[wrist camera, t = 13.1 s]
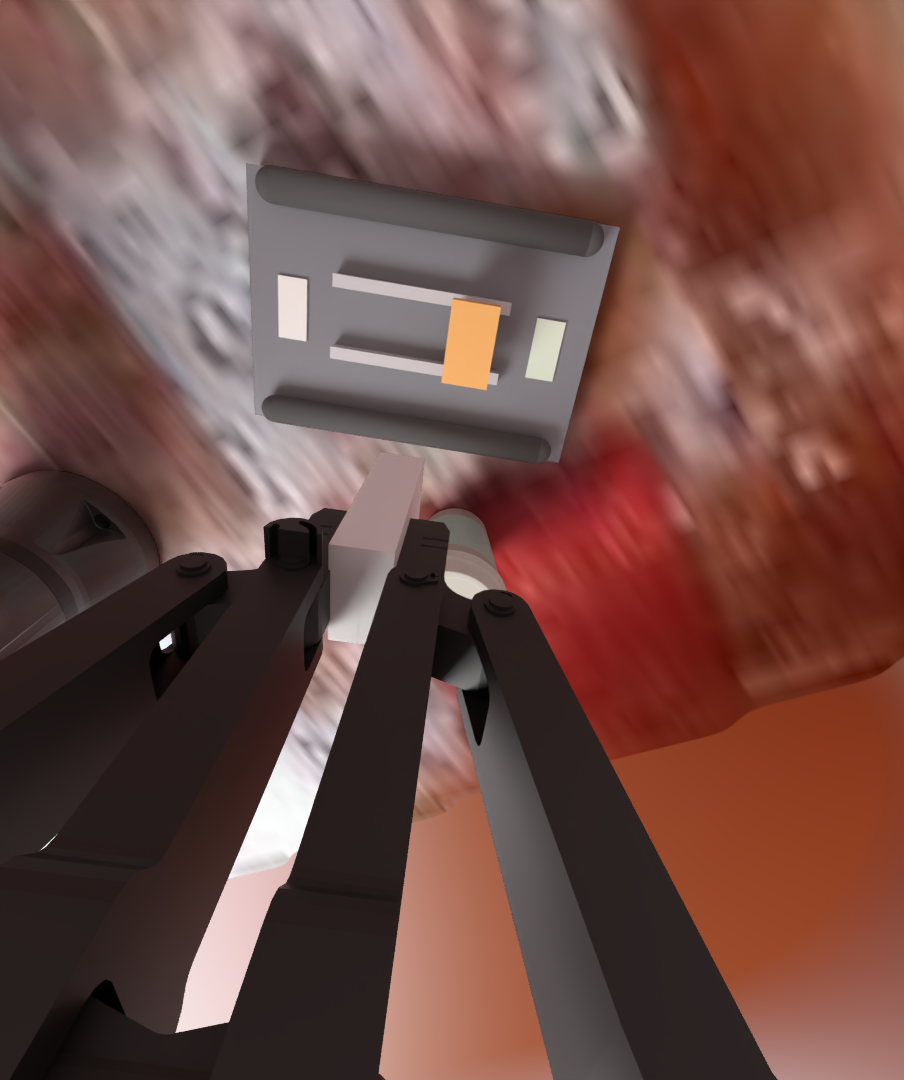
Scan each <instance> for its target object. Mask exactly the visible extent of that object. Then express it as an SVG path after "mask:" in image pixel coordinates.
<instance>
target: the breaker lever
mask: <svg viewBox="0 0 904 1080" xmlns="http://www.w3.org/2000/svg"><path fill="white" fill-rule="evenodd" d="M500 311H501V306H500V305H496V304H490V303H484V302H478V301H472V300H466V299H460V298H453V299H452V307H451V314H450V321H449V329H448V336H447V344H446V351H445V359H444V366H443V373H442V381H441V383H445V384H452V385H458V386H464V387H470V388H476V389H482V390H487V384H488V379H489V373H490V367H491V362H492V356H493V350H494V345H495V339H496V333H497V328H498V322H499V317H500Z"/></svg>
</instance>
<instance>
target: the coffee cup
mask: <svg viewBox="0 0 904 1080" xmlns="http://www.w3.org/2000/svg"><path fill="white" fill-rule="evenodd" d="M428 521H436V522H444V523H445V525H446V526H447V528H448V529H449V531H450V536H449V544H448V552H447V559H446V567H445V575H444V578H445V582H446V584H447V586H448V587H449V588H450V589H451V590H452V591H454V592H456V593H457V594H459V595H461V596H464V597H466V598H469V599H472V598H473V597H474V595H475V594H476V593H479V592H481V591H483V590H490V589H497V590H505V591H506V587H505V585H504V582H503V580H502V579H501V577H500V575H499V574H498V572H497V568H496V564H495V561H494V557H493V553H492V549H491V546H490V542H489V538H488V535H487V532H486V528H485V526H484V524H483V523H482V521H481V520H480V519H479V518H478V517H477V516H476V515H475V514H473V513H471V512H469V511H467V510H464V509H459V508H450V509H445V510H442V511H439V512H437V513H436V514H434V515H433V516H432V517H431V518H430V519H429V520H428Z"/></svg>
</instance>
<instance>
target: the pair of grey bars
mask: <svg viewBox="0 0 904 1080" xmlns="http://www.w3.org/2000/svg"><path fill="white" fill-rule="evenodd" d="M255 186H256V189H257V192H258V193H259V195H260V196H261V197H262V199H263V200H265V201H266V202H268V203H270V204H275V205H281V206H286V207H292V208H298V209H304V210H310V211H316V212H322V213H328V214H333V215H339V216H345V217H351V218H357V219H363V220H369V221H375V222H381V223H386V224H392V225H398V226H404V227H410V228H416V229H422V230H428V231H434V232H439V233H445V234H451V235H457V236H463V237H469V238H475V239H481V240H487V241H492V242H498V243H504V244H510V245H516V246H522V247H528V248H534V249H539V250H545V251H551V252H557V253H563V254H569V255H575V256H581V257H590V256H593V255H594V254H596V253H597V252H598V251H599V250H600V249H601V247H602V245H603V243H604V231H603V228H602V226H601V225H600V224H599V223H597V222H596V221H592V220H587V219H581V218H575V217H569V216H563V215H557V214H552V213H546V212H540V211H534V210H528V209H522V208H517V207H511V206H505V205H499V204H493V203H488V202H482V201H476V200H470V199H464V198H458V197H453V196H447V195H441V194H435V193H429V192H423V191H418V190H412V189H406V188H400V187H394V186H388V185H383V184H377V183H371V182H365V181H359V180H354V179H348V178H342V177H336V176H330V175H324V174H319V173H313V172H307V171H301V170H295V169H289V168H284V167H278V166H272V165H266V166H263V167H261V168H260V169H259V170H258V172H257V173H256V177H255ZM262 412H263V414H264V416H265V417H266V418H267V419H268V420H270V421H272V422H277V423H283V424H290V425H296V426H302V427H308V428H315V429H321V430H327V431H333V432H340V433H346V434H352V435H358V436H365V437H371V438H377V439H383V440H390V441H396V442H402V443H408V444H415V445H421V446H427V447H433V448H440V449H446V450H452V451H458V452H465V453H471V454H477V455H483V456H490V457H496V458H502V459H508V460H515V461H521V462H527V463H533V464H541V463H544V462H545V461H546V460H548V458H549V457H550V454H551V446H550V444H549V442H548V441H547V440H545V439H544V438H540V437H534V436H528V435H522V434H516V433H510V432H503V431H497V430H491V429H485V428H479V427H472V426H466V425H460V424H454V423H448V422H441V421H435V420H429V419H423V418H417V417H410V416H404V415H398V414H392V413H386V412H379V411H373V410H367V409H361V408H355V407H348V406H342V405H336V404H330V403H324V402H317V401H311V400H305V399H299V398H293V397H286V396H280V395H270V396H268V397H266V398H265V399H264V401H263V403H262Z"/></svg>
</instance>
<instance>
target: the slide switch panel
mask: <svg viewBox="0 0 904 1080" xmlns="http://www.w3.org/2000/svg"><path fill="white" fill-rule="evenodd" d="M261 167H263V166H260V165H254V164H248V163H246V175H247V204H248V232H249V260H250V288H251V317H252V345H253V373H254V401H255V414H257V415H263V416H264V414H263V412H262V403H263V401H264V399H265V398H266V397H268V396H270V395H280V396H286V397H293V398H299V399H305V400H311V401H317V402H324V403H330V404H336V405H342V406H348V407H355V408H361V409H367V410H373V411H379V412H386V413H392V414H398V415H404V416H410V417H417V418H423V419H429V420H435V421H441V422H448V423H454V424H460V425H466V426H472V427H479V428H485V429H491V430H497V431H503V432H510V433H516V434H522V435H528V436H534V437H540V438H544V439H545V440H547V441H548V442H549V444H550V446H551V454H550V457H549V458H548V460H546V461H550V462H556V463H559V460H560V456H561V452H562V448H563V444H564V440H565V437H566V433H567V429H568V425H569V421H570V417H571V414H572V410H573V406H574V402H575V398H576V394H577V390H578V387H579V383H580V379H581V375H582V371H583V367H584V364H585V360H586V356H587V352H588V348H589V344H590V340H591V337H592V333H593V329H594V325H595V321H596V317H597V314H598V310H599V306H600V302H601V298H602V294H603V290H604V287H605V283H606V279H607V275H608V271H609V267H610V264H611V260H612V256H613V252H614V248H615V244H616V240H617V237H618V233H619V229H620V227H616V226H610V225H604V224H600V225H601V226H602V228H603V231H604V243H603V245H602V247H601V249H600V250H599V251H598V252H597V253H596V254H594V255H593V256H590V257H581V256H575V255H569V254H563V253H557V252H551V251H545V250H539V249H534V248H528V247H522V246H516V245H510V244H504V243H498V242H492V241H487V240H481V239H475V238H469V237H463V236H457V235H451V234H445V233H439V232H434V231H428V230H422V229H416V228H410V227H404V226H398V225H392V224H386V223H381V222H375V221H369V220H363V219H357V218H351V217H345V216H339V215H333V214H328V213H322V212H316V211H310V210H304V209H298V208H292V207H286V206H281V205H275V204H270V203H268V202H266V201H265V200H263V199H262V197H261V196H260V195H259V193H258V192H257V189H256V186H255V177H256V173H257V172H258V170H259V169H260V168H261ZM453 298H460V299H466V300H472V301H478V302H484V303H490V304H496V305H500V306H501V311H500V317H499V322H498V328H497V333H496V339H495V345H494V350H493V356H492V362H491V367H490V373H489V379H488V384H487V390H482V389H476V388H470V387H464V386H458V385H452V384H445V383H441V381H442V373H443V366H444V359H445V351H446V344H447V336H448V329H449V321H450V314H451V307H452V299H453Z"/></svg>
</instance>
